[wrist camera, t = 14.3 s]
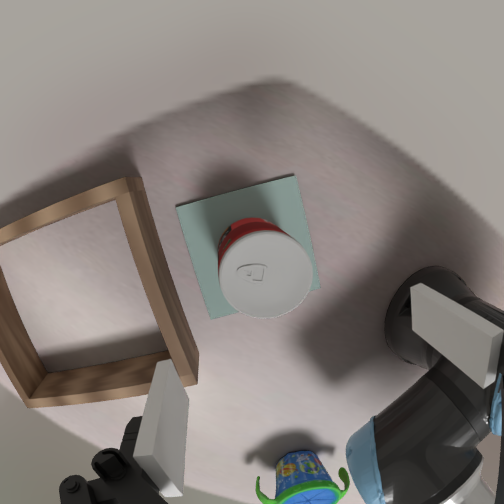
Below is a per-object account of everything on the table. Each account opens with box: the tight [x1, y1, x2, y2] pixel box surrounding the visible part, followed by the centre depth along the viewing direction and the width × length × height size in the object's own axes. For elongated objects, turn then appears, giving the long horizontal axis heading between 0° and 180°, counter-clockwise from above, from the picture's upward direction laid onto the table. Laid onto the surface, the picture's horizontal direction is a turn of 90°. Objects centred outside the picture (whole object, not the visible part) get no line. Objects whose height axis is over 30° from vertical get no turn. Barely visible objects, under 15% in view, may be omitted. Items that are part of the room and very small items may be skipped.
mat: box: [176, 175, 321, 319], centre depth 37 cm, size 14×14×1 cm
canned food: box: [218, 217, 313, 319], centre depth 32 cm, size 8×8×11 cm
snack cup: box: [256, 451, 350, 504], centre depth 42 cm, size 16×11×10 cm
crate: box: [0, 177, 199, 408], centre depth 33 cm, size 26×23×7 cm
